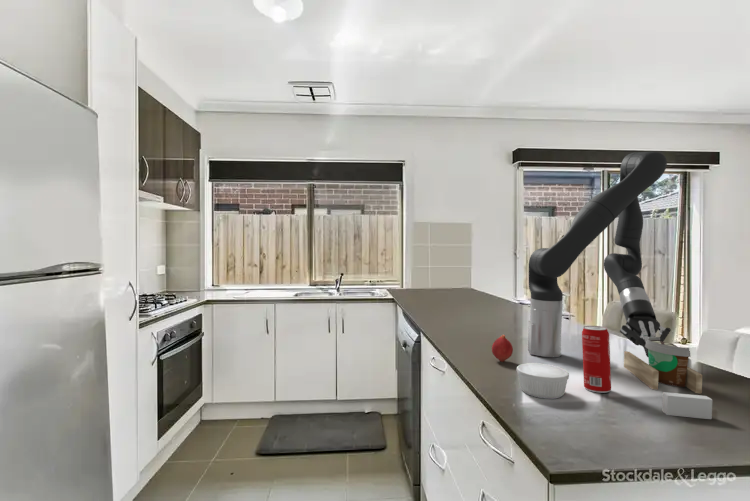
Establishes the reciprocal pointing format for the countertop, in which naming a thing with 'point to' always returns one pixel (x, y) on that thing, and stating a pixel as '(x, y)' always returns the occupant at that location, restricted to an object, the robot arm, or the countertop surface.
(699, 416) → the white rectangular block
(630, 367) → the chute
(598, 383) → the beverage can
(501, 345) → the onion
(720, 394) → the countertop surface
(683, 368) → the food container
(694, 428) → the countertop surface
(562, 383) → the ramekin
